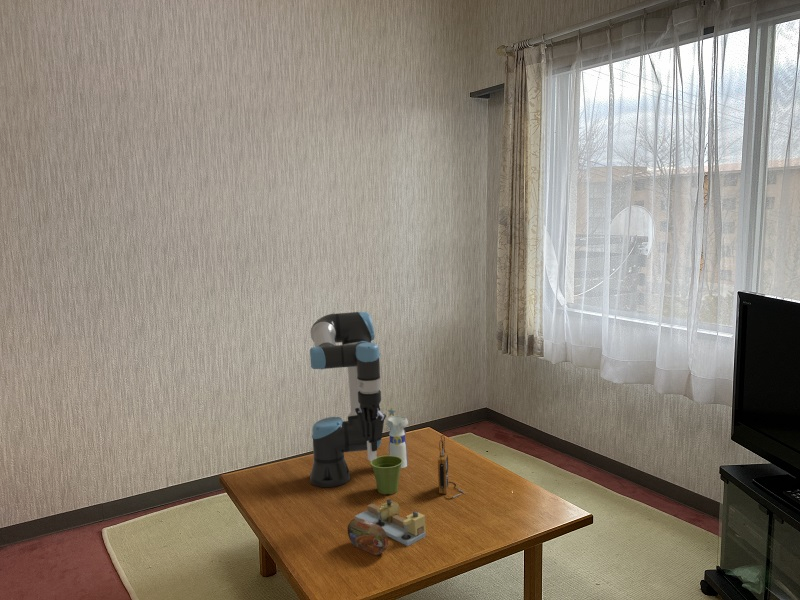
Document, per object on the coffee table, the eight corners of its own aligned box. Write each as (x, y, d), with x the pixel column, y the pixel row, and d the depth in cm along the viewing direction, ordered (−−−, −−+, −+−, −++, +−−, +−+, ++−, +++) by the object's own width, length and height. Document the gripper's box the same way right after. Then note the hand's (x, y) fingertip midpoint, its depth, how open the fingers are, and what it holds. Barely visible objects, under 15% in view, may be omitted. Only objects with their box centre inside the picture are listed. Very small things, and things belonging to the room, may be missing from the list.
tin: (347, 543, 191) (346, 517, 190) (354, 539, 193) (353, 513, 192) (383, 559, 181) (381, 532, 180) (390, 555, 183) (389, 528, 182)
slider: (374, 521, 200) (373, 503, 199) (390, 514, 205) (390, 496, 204) (383, 525, 197) (382, 507, 196) (399, 517, 202) (398, 500, 201)
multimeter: (465, 500, 216) (464, 445, 213) (437, 499, 218) (435, 444, 215) (469, 482, 230) (468, 431, 228) (442, 481, 232) (441, 430, 230)
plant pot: (408, 485, 230) (407, 456, 228) (397, 499, 219) (396, 469, 217) (378, 482, 234) (377, 453, 232) (366, 495, 223) (365, 466, 221)
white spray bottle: (409, 468, 245) (407, 407, 242) (388, 469, 245) (385, 408, 242) (409, 460, 253) (407, 401, 250) (388, 461, 254) (386, 402, 250)
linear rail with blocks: (355, 519, 206) (354, 497, 205) (374, 510, 211) (373, 489, 210) (407, 546, 188) (406, 522, 187) (426, 535, 193) (426, 512, 192)
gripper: (347, 389, 204) (351, 457, 208) (373, 397, 195) (376, 468, 198) (365, 384, 209) (368, 450, 213) (391, 391, 200) (394, 461, 203)
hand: (372, 459), depth 206 cm, fingers closed
